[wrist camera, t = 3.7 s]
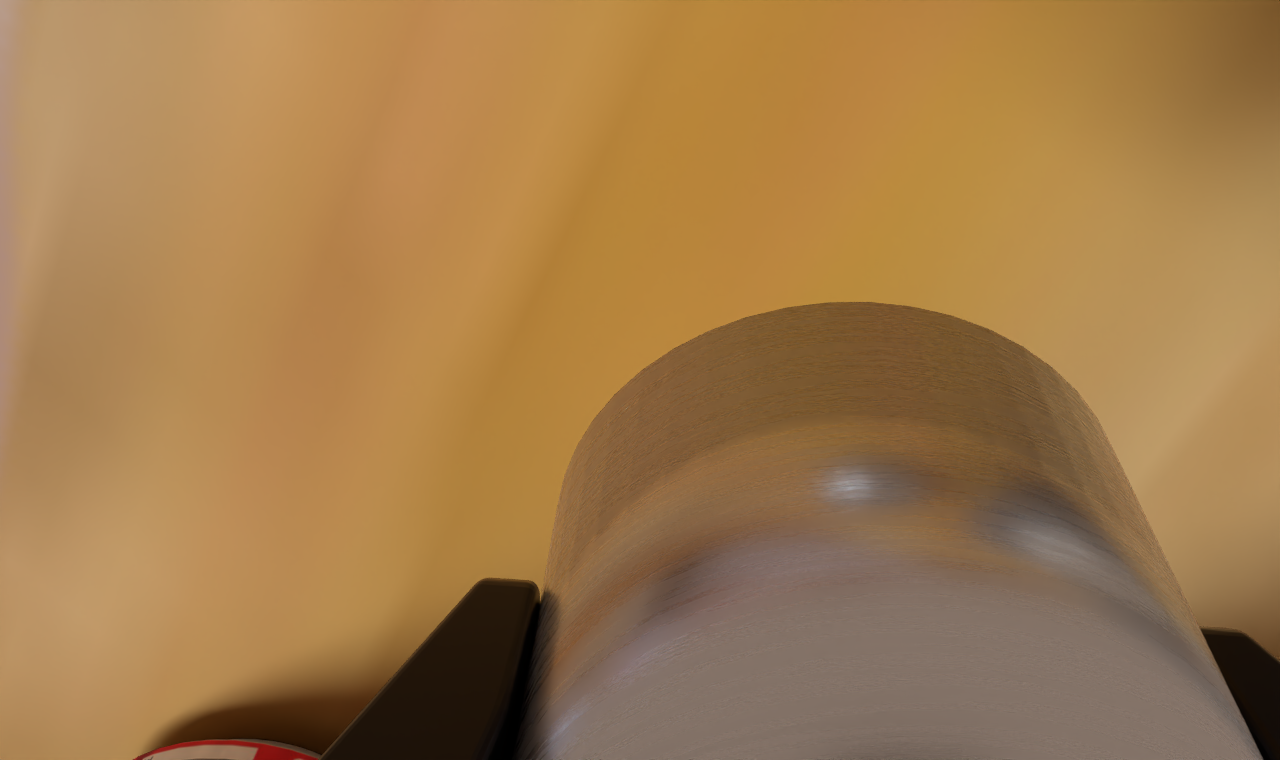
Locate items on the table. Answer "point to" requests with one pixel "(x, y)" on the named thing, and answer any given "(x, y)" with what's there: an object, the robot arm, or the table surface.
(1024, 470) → the cylinder
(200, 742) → the soda can
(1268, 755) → the robot arm
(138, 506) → the table surface
